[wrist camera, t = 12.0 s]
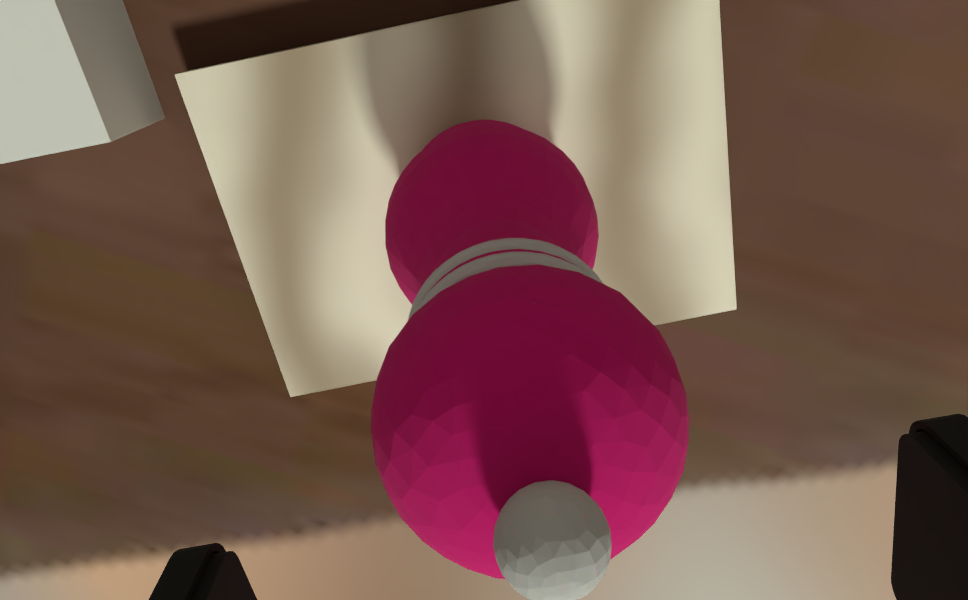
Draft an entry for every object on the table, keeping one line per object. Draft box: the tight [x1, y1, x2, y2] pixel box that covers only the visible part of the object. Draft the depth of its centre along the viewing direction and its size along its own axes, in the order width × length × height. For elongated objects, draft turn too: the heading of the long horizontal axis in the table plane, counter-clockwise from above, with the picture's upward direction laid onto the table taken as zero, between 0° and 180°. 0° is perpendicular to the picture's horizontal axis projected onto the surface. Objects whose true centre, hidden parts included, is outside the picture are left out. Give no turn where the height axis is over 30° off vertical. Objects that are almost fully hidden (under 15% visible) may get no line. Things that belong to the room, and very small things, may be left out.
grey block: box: [0, 0, 165, 164], centre depth 25 cm, size 5×5×5 cm
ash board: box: [175, 0, 737, 397], centre depth 29 cm, size 20×14×2 cm
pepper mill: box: [371, 120, 689, 600], centre depth 19 cm, size 7×7×20 cm
